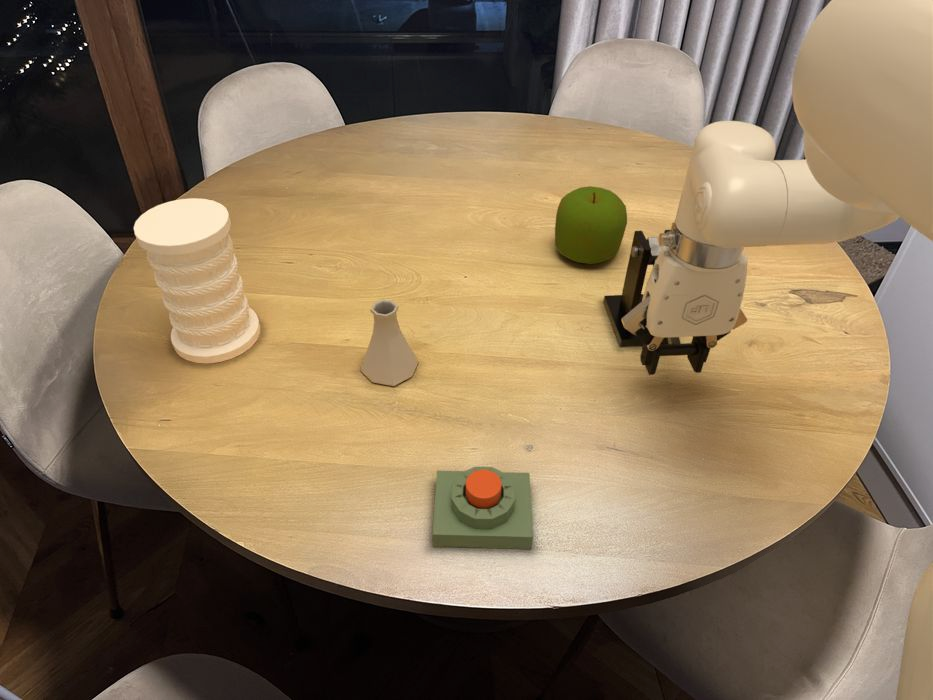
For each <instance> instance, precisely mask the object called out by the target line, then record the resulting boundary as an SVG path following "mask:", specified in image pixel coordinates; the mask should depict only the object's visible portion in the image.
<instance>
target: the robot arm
mask: <svg viewBox="0 0 933 700" xmlns="http://www.w3.org/2000/svg"><path fill="white" fill-rule="evenodd" d="M791 79H792V83H791V97H792V104H793V111H794V112H795V116H796V119H797V121H798V124H799V126H800V127H801V128H802V130H803V132H804V134H803V153H804V158H805V159H775V156H776V152H777V147H776V145H777V144H776V141H775V139H774V137H773V136H772V135H771V133H770V132H768V131H767V130H766V129H764V128H763V127H760V126H758V125H755V124H753V123H749V122H745V121H739V120H719V121H715V122H712V123H709V124H707V125H705V126H704V127H703V128H701V130H700V131H699V132H698V133H697V135H696V137H695V138H694V141H693V142H694V143H693V146H692V150H691V154H690V158H689V162H688V166H687V170H686V174H685V178H684V183H683V186H682V191H681V194H680V198H679V202H678V207H677V211H676V215H675V219H674V222H672V224H671V228H670V229H669V230H670V232H667V233H664V232H660V233H659V234H658V237H659V239H658V241H659V245H660V246H663V248H662V250H661V251H660V253H659V255H658V257H657V259H656V261H655V264H654V266H653V265H652V268H651V271H650V273H649V276H648V279H647V282H646V284H645V288H644V292H643V294H644V295H643V299H642V302H641V303H640V304H638V305H637V306H636V307H635V308H634V309H632V310H631V311H630V312H629V313H628V314H626V315H625V316H624V317H623V318H622V323H623V326H624V328H625V329H626V330H628V331H629V332H631V333H632V334H635V335H636V336H637V338H638V339H639V340H640V341H641V342H643V343H644V344H643V346H642V348H641V352H640V355H639V358H640V363H641V365H642V366H645V367H644V368H645V369H646V371H647V374H648V376H654V375H655V374H656V372H657V368H658V365H659V361H660V357H661V356H660V354H661V351H660V348H659V345H660V343H661V342H662V340H663V339H664V337H679V338H687V337H688V338H690V337H692V339H691V342H690V343H696V344H697V346H698V353H697V354H696V355H686V357H687V360H688V363H689V365H690V367H691V368H692V370H693V372H694V373H695V374H697V373H698V374H699V373H701V372H702V369H703V367H704V364H705V363H706V362H707V361H708V357H709V354H710V351H711V349H714V348H715V347H717V346H718V341H720V340H722V339H723V338H724V337H726V336H728V335H729V334H730V333H732V330H733V331H734V330H735V329H737V328H739V327H741V326H742V325H744V324H746V323H747V322H748V318H747V316H746V315H745V313H744V312H743V310H742V309H741V307H742V303H743V299H744V295H745V289H746V282H747V273H748V265H749V264H748V263H749V258H748V256H747V254H746V253H745V252H744V249H745V248H760V247H761V248H763V247H776V246H777V247H779V246H805V245H807V246H808V245H809V246H812V245H828V244H835V243H840V242H844V241H847V240H851V239H854V238H857V237H859V236H863V235H865V234H867V233H871V232H874V231H876V230H879V229H881V228H884V227H886V226H888V225H890V224H892V223H894V222H896V221H897V220H898V219H899V218H900V219H902V220H903V221H904V222H905V223H907V224H908V225H909V226H910V227H912V228H913V229H914V230H915V231H917V232H918V233H920V234H921V235H922V236H924V237H925V238H927V239H928V240H929V241H931V242H933V0H830V1H829V2H828V3H827V5H826V6H825V7H823V9H822V10H821V11H820V12H819V13H818V14H817V16H816V18H815V19H814V20H813V22H812V23H811V25H810V26H809V28H808V29H807V32H806V33H805V36H804V37H803V39H802V41H801V43H800V46H799V49H798V53H797V55H796V58H795V62H794V66H793V71H792V78H791ZM646 317H647V325H646V326H644V325H643V324H642V323H640V322H641V321H642V320H643V319H644V318H646ZM895 700H933V560H932V561H931V562H930V565H929V566H928V567H927V568H926V570H925V571H924V573H923V574H922V576H921V578H920V580H919V582H918V584H917V586H916V588H915V590H914V594H913V597H912V600H911V604H910V609H909V613H908V618H907V623H906V628H905V633H904V641H903V647H902V655H901V662H900V668H899V674H898V681H897V689H896V696H895Z"/></svg>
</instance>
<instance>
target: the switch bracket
mask: <svg viewBox="0 0 933 700" xmlns="http://www.w3.org/2000/svg"><path fill="white" fill-rule="evenodd" d="M670 230H671V229H664V231H663V233H667V232H670ZM647 239H648V238H646V236H645V234H644V231H643V230H634V233H633V238H632V243H631V247H630V251H629V252H630V253H629V257H628V263H627V267H626V272H625V278H624V282H623V287H622V291H621V294H613V295H611V294H610V295H609V294H608V295H604V296H603V304H604V308H605V310H606V313H607V316H608V319H609V321H610V324H611V326H612V329H613V332H614V334H615V337H616V339H617V342H618V346H619V347H643V344H644V343H643V342H641V341H640V340H639V339H638V338H637V336H636V335H635V334H632V333H631V332H629V331H628V330H626V329H625V328H624V326H623V323H622V318H623V317H624V316H625V315H626V314H628V313H629V312H630V311H631V310H632V309H634V308H635V307H636V306H637V305H638V304H640V303H641V302H642V299H643V295H644V293H643V289H644V283H645V279H646V274H647V270H648V266H649V265H648V262H649V258H650V253H651V247H650V245H649V243H648V241H647ZM640 323H642V324H643V325H644V326H646V325H647V317H646V318H644V319H643V320H642V321H641V322H640ZM661 344H669V343H668V338H667V337H664V339H663V340H662V342H661V343H660V345H661Z"/></svg>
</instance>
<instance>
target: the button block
mask: <svg viewBox="0 0 933 700" xmlns="http://www.w3.org/2000/svg"><path fill="white" fill-rule="evenodd" d="M477 470H489V471H492V472H494V473H495V474H497V475H498V476H499V478H500V480H501V484H502V485H501V497H500V500H499V501H498V503H497V504H496V505H494V506H492V507H490V508H477V507H475V506H473V505H472V504H470V503H469V501H468V500H467V498H466V480H467V478H468V476H469V475H470V474H471V473H473V472H475V471H477ZM434 492H435V493H434V495H435V496H434V506H433V508H434V509H433V520H432V547H443V548H479V549H480V548H481V549H482V548H483V549H515V550H516V549H518V550H519V549H522V550H524V549H525V550H531V549H532V548H533V547H532V546H533V541H534V533H533V532H534V530H533V517H532V516H533V512H532V497H531V496H532V495H531V480H530V472H515V471H513V472H510V471H508V472H507V471H501V470H499V469H497V468H495V467H493V466H473V467H471V468H469V469H466V470H436V479H435V491H434Z"/></svg>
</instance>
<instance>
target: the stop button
mask: <svg viewBox="0 0 933 700" xmlns="http://www.w3.org/2000/svg"><path fill="white" fill-rule="evenodd" d="M501 485H502V484H501V480H500V478H499V476H498V475H497V474H495V473H494V472H492V471H489V470H477V471H475V472H473V473H471V474H470V475H469V476H468V478H467V480H466V498H467V500H468V501H469V503H470V504H472V505H473V506H475V507H477V508H490V507H492V506H494V505H496V504H497V503H498V501H499V500H500V497H501Z"/></svg>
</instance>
